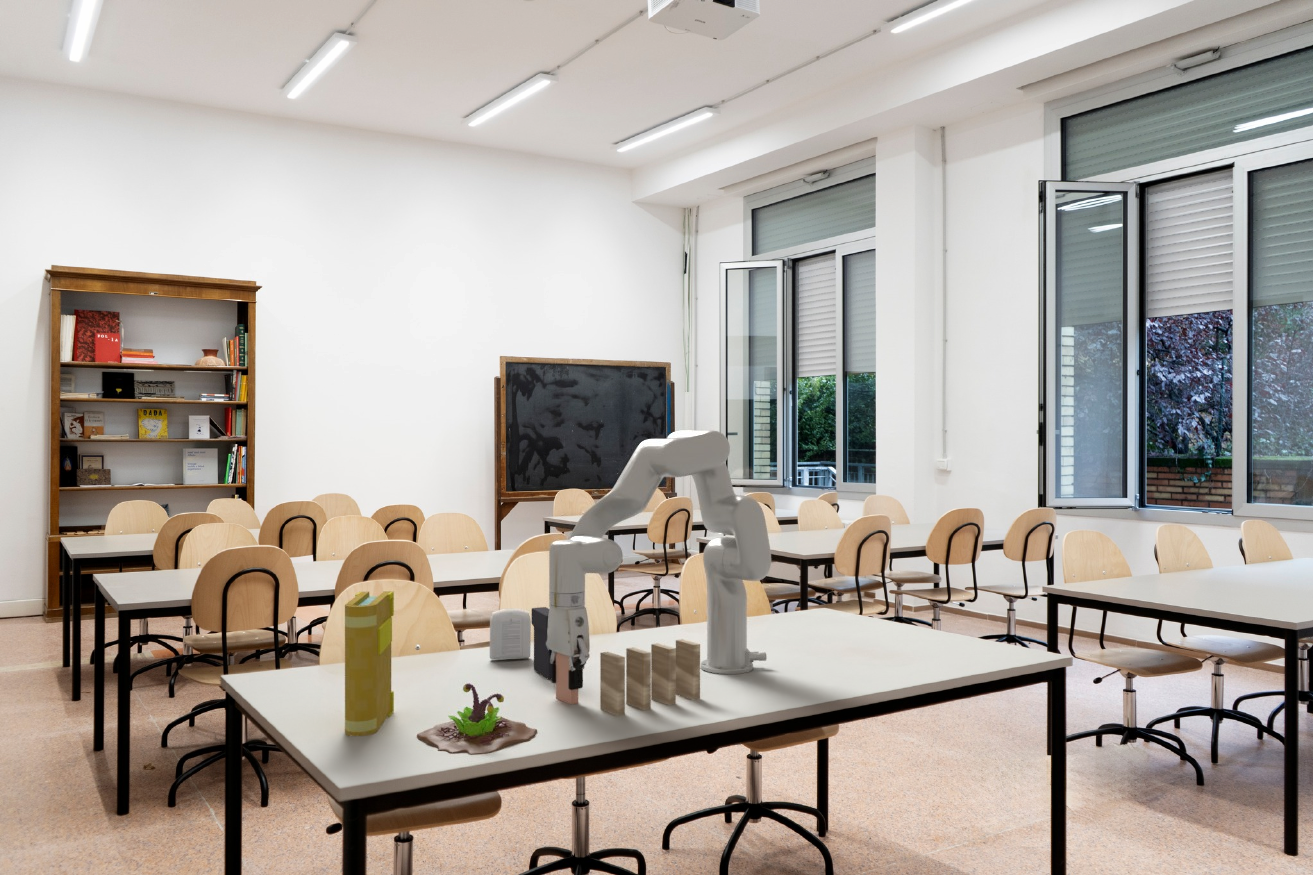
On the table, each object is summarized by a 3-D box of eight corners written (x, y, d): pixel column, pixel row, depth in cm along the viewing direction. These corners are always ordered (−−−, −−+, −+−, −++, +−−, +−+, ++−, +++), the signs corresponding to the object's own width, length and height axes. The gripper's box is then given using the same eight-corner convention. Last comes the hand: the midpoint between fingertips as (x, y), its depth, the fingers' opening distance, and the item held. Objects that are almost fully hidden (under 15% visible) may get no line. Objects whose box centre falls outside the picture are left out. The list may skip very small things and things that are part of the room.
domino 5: (682, 694, 209) (682, 639, 209) (700, 700, 204) (700, 643, 204) (675, 695, 208) (675, 640, 208) (693, 702, 203) (693, 645, 203)
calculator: (564, 678, 224) (564, 614, 224) (546, 680, 222) (546, 615, 222) (548, 668, 234) (548, 606, 233) (531, 670, 232) (531, 607, 232)
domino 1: (563, 700, 206) (563, 643, 206) (578, 706, 201) (578, 649, 201) (555, 701, 205) (555, 645, 205) (570, 708, 200) (571, 650, 200)
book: (359, 715, 195) (359, 591, 194) (393, 714, 195) (393, 591, 195) (339, 742, 178) (339, 607, 178) (376, 741, 178) (376, 606, 178)
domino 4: (658, 699, 205) (658, 643, 205) (675, 706, 200) (675, 648, 200) (651, 701, 204) (651, 644, 204) (668, 707, 199) (668, 649, 199)
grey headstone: (529, 654, 248) (529, 606, 248) (531, 658, 243) (531, 609, 243) (489, 656, 245) (489, 608, 245) (490, 660, 241) (490, 611, 241)
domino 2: (607, 710, 197) (607, 651, 197) (624, 717, 192) (624, 657, 192) (600, 711, 196) (600, 652, 196) (617, 718, 191) (617, 658, 191)
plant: (483, 722, 191) (483, 665, 191) (553, 743, 179) (553, 682, 179) (398, 748, 176) (398, 686, 176) (467, 772, 164) (467, 706, 163)
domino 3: (633, 704, 201) (633, 647, 201) (650, 711, 196) (650, 652, 196) (626, 706, 200) (626, 648, 200) (643, 713, 195) (643, 653, 195)
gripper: (605, 603, 198) (604, 691, 199) (560, 592, 212) (560, 674, 212) (574, 607, 194) (574, 697, 194) (530, 595, 208) (530, 679, 208)
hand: (566, 684), depth 203 cm, fingers closed on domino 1, 5 cm apart
